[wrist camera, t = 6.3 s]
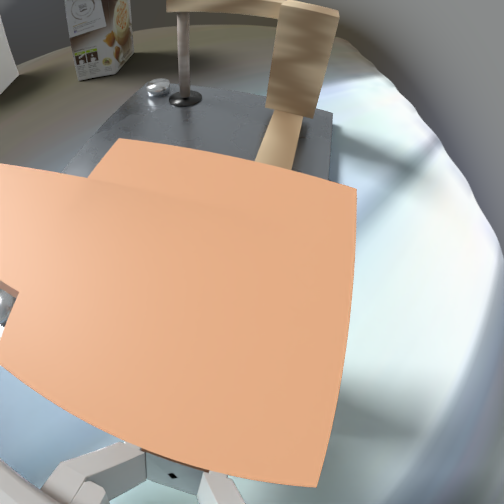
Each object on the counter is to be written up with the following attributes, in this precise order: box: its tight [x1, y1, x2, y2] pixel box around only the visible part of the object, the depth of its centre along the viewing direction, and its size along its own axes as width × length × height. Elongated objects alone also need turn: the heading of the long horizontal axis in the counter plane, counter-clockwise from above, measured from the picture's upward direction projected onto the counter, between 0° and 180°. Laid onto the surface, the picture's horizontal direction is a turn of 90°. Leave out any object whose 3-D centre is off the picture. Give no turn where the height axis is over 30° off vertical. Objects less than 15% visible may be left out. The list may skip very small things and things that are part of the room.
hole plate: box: [0, 79, 333, 338], centre depth 19 cm, size 20×28×2 cm
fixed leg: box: [166, 0, 339, 170], centre depth 14 cm, size 13×26×11 cm, turn 166°
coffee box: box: [64, 0, 134, 81], centre depth 25 cm, size 9×6×16 cm
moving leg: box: [0, 138, 357, 488], centre depth 8 cm, size 13×4×10 cm, turn 76°
